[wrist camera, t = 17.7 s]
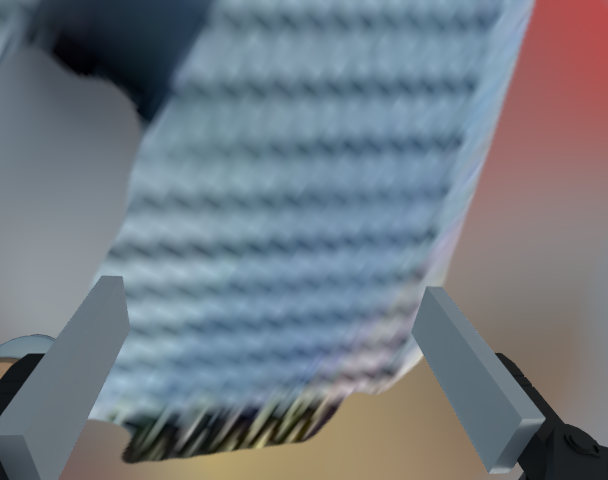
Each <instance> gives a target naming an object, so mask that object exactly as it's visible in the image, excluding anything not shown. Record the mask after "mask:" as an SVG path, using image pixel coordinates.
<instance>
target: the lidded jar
mask: <svg viewBox="0 0 608 480" xmlns="http://www.w3.org/2000/svg"><path fill="white" fill-rule="evenodd" d="M55 340H56V339H54V338H52V337H50V336H46V335H39V334H37V335H31V336H23V337H19V338H16V339H12V340H10V341H8V342H6V343H4V344H2V345H1V346H0V379H1V378H2V376H3V375H4V374H5V373H6V371H7V370H8V369H9V368H10V366H12V365H13V364H14V363H16V362H17V361H18V360H20V359H21V358H23V357H24V356H25V355H27V354H28V353H46V352H47V351H48V350H49V348H50V347H51V346H52V344H53V343H54V341H55Z"/></svg>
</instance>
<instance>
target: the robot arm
mask: <svg viewBox="0 0 608 480" xmlns="http://www.w3.org/2000/svg"><path fill="white" fill-rule="evenodd" d="M129 330H130V324H129V317H128V311H127V304H126V297H125V290H124V284H123V277H122V276H101V278H100V279H99V281H98V282H97V283H96V285H95V286H94V288H93V289H92V290H91V292H90V293H89V294H88V296H87V297H86V299H85V300H84V301H83V303H82V304H81V305H80V307H79V308H78V310H77V311H76V312H75V314H74V315H73V317H72V318H71V319H70V321H69V322H68V323H67V325H66V326H65V328H64V329H63V330H62V332H61V333H60V334H59V336H58V337H57V339H56V340H55V341H54V343H53V344H52V346H51V347H50V348H49V350H48V351H47V352H46V353H28V354H27V355H25V356H24V357H23V358H21V359H20V360H18V361H17V362H16V363H14V364H13V365H12V366H10V368H9V369H8V370H7V371H6V373H5V374H4V375H3V376H2V378H1V379H0V480H58V478H59V477H60V474H61V472H62V470H63V468H64V466H65V464H66V462H67V460H68V458H69V456H70V454H71V451H72V449H73V447H74V445H75V443H76V441H77V439H78V437H79V435H80V433H81V431H82V428H83V426H84V424H85V422H86V420H87V418H88V416H89V414H90V412H91V410H92V408H93V406H94V403H95V401H96V399H97V397H98V395H99V393H100V391H101V389H102V387H103V385H104V383H105V381H106V378H107V376H108V374H109V372H110V370H111V368H112V366H113V364H114V362H115V360H116V358H117V355H118V353H119V351H120V349H121V347H122V345H123V343H124V341H125V339H126V337H127V335H128V332H129ZM411 333H412V334H413V336H414V338H415V340H416V342H417V344H418V345H419V347H420V349H421V351H422V353H423V354H424V356H425V358H426V360H427V362H428V364H429V365H430V367H431V369H432V371H433V373H434V375H435V376H436V378H437V380H438V382H439V384H440V385H441V387H442V389H443V391H444V393H445V394H446V396H447V398H448V400H449V402H450V404H451V406H452V407H453V409H454V411H455V413H456V415H457V416H458V418H459V420H460V422H461V424H462V426H463V427H464V429H465V431H466V433H467V435H468V436H469V438H470V440H471V442H472V444H473V446H474V448H475V449H476V451H477V453H478V455H479V456H480V459H481V460H482V462H483V464H484V466H485V468H486V469H487V471H488V473H489V474H491V473H492V474H493V473H508V472H510V471H511V470H512V468H513V467H514V465H515V464H516V462H518V463H519V465H520V466H521V468H522V469H523V471H524V472H523V474H522V475H521V477H520V478H519V479H518V480H608V447H604V446H601V445H599V444H598V443H597V442H596V441H595V440H594V439H593V438H592V437H591V436H590V435H588V434H587V433H586V432H584V431H582V430H581V429H579V428H577V427H574V426H572V425H569V424H565V423H564V422H563V421H562V420H561V419H560V418H559V416H558V415H557V414H556V413H555V412H554V411H553V409H552V408H551V407H550V406H549V404H548V403H547V402H546V401H545V400H544V399H543V397H542V396H541V395H540V394H539V392H538V391H537V390H536V389H535V388H534V387H532V384H531V383H530V381H529V380H528V379H527V378H526V377H524V375H523V373H522V372H521V371H520V369H519V368H518V367H517V366H516V365H515V363H513V362H512V361H511V360H510V359H508V358H507V357H506V356H504V355H503V354H501V353H494V352H493V351H492V350H491V348H490V347H489V346H488V345H487V343H486V342H485V341H484V340H483V338H482V337H481V336H480V335H479V333H478V332H477V331H476V330H475V328H474V327H473V326H472V324H471V323H470V322H469V321H468V319H467V318H466V317H465V316H464V314H463V313H462V312H461V310H460V309H459V308H458V307H457V305H456V304H455V303H454V302H453V300H452V299H451V298H450V297H449V295H448V294H447V293H446V291H445V290H444V289H443V288H442V287H429V286H427V287H426V290H425V293H424V296H423V298H422V301H421V304H420V307H419V310H418V313H417V316H416V319H415V322H414V325H413V328H412V331H411Z"/></svg>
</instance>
